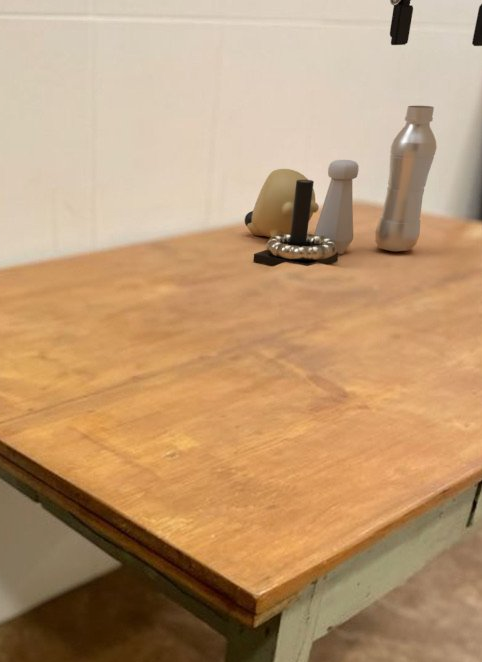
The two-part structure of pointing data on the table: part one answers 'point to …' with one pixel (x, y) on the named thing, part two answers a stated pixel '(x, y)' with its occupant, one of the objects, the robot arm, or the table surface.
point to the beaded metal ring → (302, 248)
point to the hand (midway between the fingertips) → (438, 45)
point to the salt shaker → (338, 205)
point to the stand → (297, 228)
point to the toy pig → (276, 204)
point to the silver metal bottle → (407, 181)
